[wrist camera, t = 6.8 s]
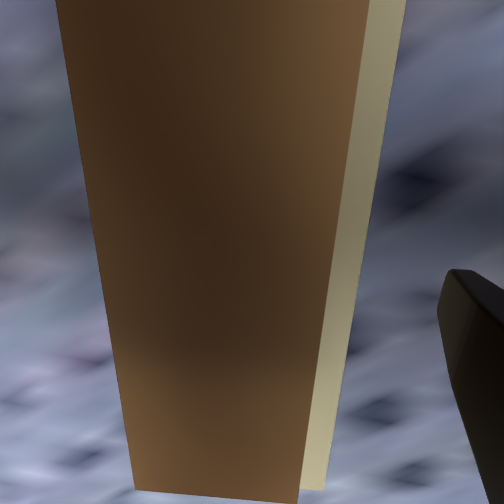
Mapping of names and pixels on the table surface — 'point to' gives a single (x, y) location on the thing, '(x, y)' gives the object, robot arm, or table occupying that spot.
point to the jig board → (352, 228)
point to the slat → (214, 221)
